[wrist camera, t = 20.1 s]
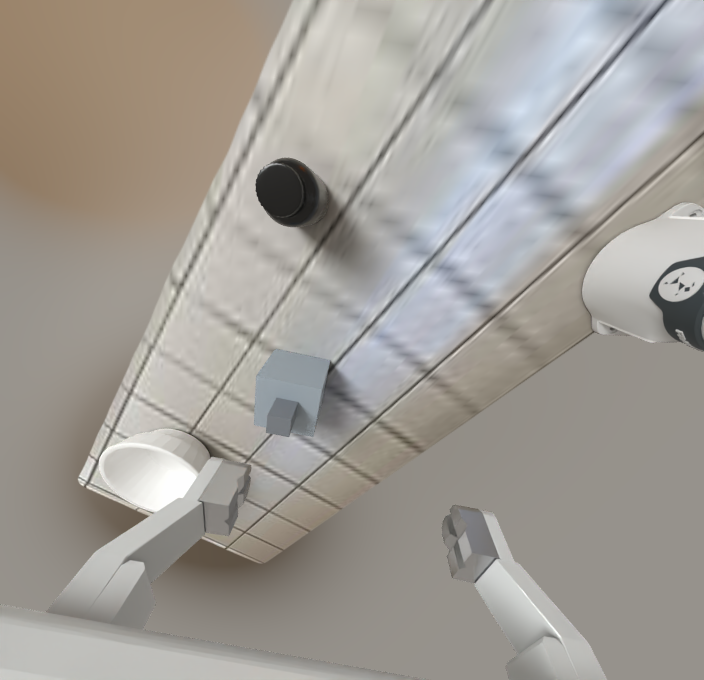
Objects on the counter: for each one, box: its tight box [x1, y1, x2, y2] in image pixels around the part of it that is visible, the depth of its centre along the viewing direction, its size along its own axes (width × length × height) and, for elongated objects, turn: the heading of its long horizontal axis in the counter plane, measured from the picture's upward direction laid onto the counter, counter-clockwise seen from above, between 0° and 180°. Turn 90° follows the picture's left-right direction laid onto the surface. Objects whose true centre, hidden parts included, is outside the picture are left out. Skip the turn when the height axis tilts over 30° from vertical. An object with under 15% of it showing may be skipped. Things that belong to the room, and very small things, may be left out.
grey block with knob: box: [254, 349, 330, 437], centre depth 44 cm, size 10×10×13 cm
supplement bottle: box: [256, 158, 329, 227], centre depth 31 cm, size 7×7×12 cm
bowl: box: [99, 429, 210, 513], centre depth 57 cm, size 22×22×8 cm
